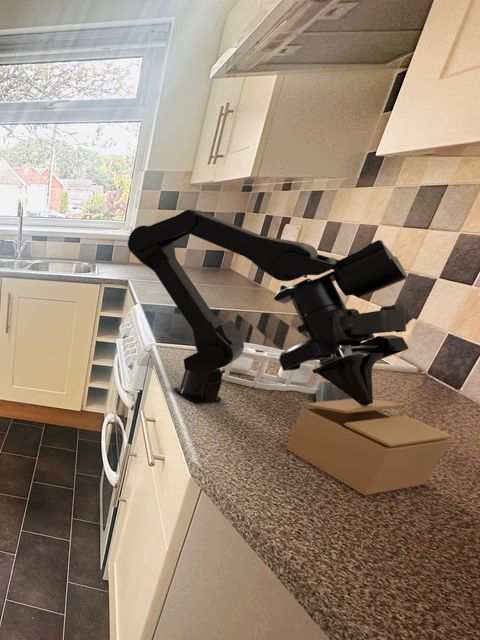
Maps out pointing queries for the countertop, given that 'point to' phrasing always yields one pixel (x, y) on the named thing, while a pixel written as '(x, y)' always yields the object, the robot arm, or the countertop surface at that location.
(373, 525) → the countertop surface
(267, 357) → the skeletal toy car
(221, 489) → the countertop surface
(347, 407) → the flap
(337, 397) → the grey angular piece
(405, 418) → the carton
